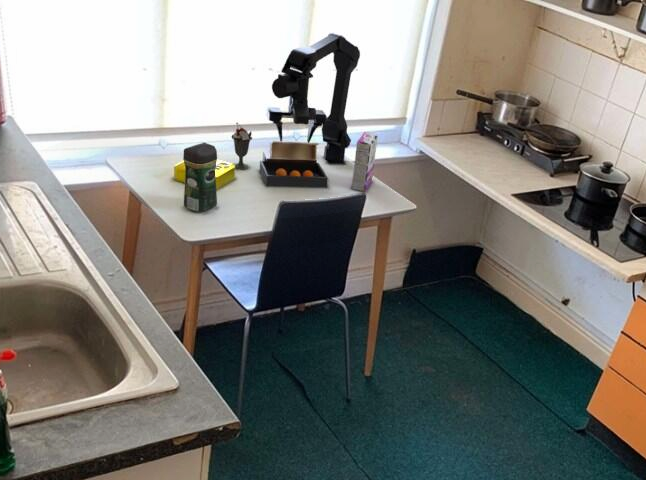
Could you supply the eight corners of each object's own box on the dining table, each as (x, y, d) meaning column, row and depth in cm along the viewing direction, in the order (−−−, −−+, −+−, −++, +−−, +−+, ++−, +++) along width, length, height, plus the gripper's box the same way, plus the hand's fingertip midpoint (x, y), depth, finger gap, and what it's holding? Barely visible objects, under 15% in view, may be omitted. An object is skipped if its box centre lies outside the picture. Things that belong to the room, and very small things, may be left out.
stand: (310, 168, 265) (312, 152, 262) (315, 176, 260) (316, 160, 257) (262, 166, 260) (263, 150, 256) (265, 174, 254) (266, 158, 251)
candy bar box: (358, 178, 264) (364, 131, 255) (372, 181, 264) (378, 134, 254) (350, 189, 255) (356, 140, 245) (364, 192, 254) (371, 144, 245)
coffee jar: (200, 198, 231) (200, 138, 220) (221, 206, 229) (222, 145, 218) (178, 207, 224) (178, 145, 213) (199, 215, 221) (200, 153, 211)
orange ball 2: (300, 183, 253) (298, 174, 254) (302, 177, 250) (300, 168, 251) (289, 183, 252) (288, 174, 253) (291, 177, 249) (290, 168, 249)
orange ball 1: (287, 181, 251) (285, 177, 254) (287, 171, 249) (285, 166, 252) (276, 181, 250) (274, 176, 252) (277, 170, 248) (275, 166, 250)
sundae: (226, 167, 255) (228, 122, 246) (237, 161, 260) (239, 117, 251) (243, 172, 253) (246, 127, 244) (254, 166, 258) (256, 122, 250)
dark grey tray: (317, 172, 263) (318, 162, 261) (326, 187, 253) (327, 177, 251) (259, 170, 256) (260, 160, 254) (266, 186, 246) (267, 175, 244)
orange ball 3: (312, 183, 254) (311, 175, 256) (314, 176, 251) (313, 168, 253) (302, 183, 253) (301, 175, 255) (304, 175, 250) (302, 167, 252)
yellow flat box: (196, 166, 251) (196, 151, 249) (237, 177, 248) (237, 163, 246) (171, 179, 239) (171, 164, 237) (213, 191, 237) (214, 177, 234)
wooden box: (314, 142, 254) (318, 143, 250) (314, 159, 256) (318, 160, 251) (269, 140, 250) (273, 141, 245) (269, 158, 251) (273, 159, 247)
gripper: (274, 99, 231) (270, 149, 240) (333, 103, 237) (328, 152, 246) (267, 88, 239) (264, 137, 249) (325, 92, 245) (320, 139, 255)
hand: (294, 141), depth 249 cm, fingers open, 9 cm apart
